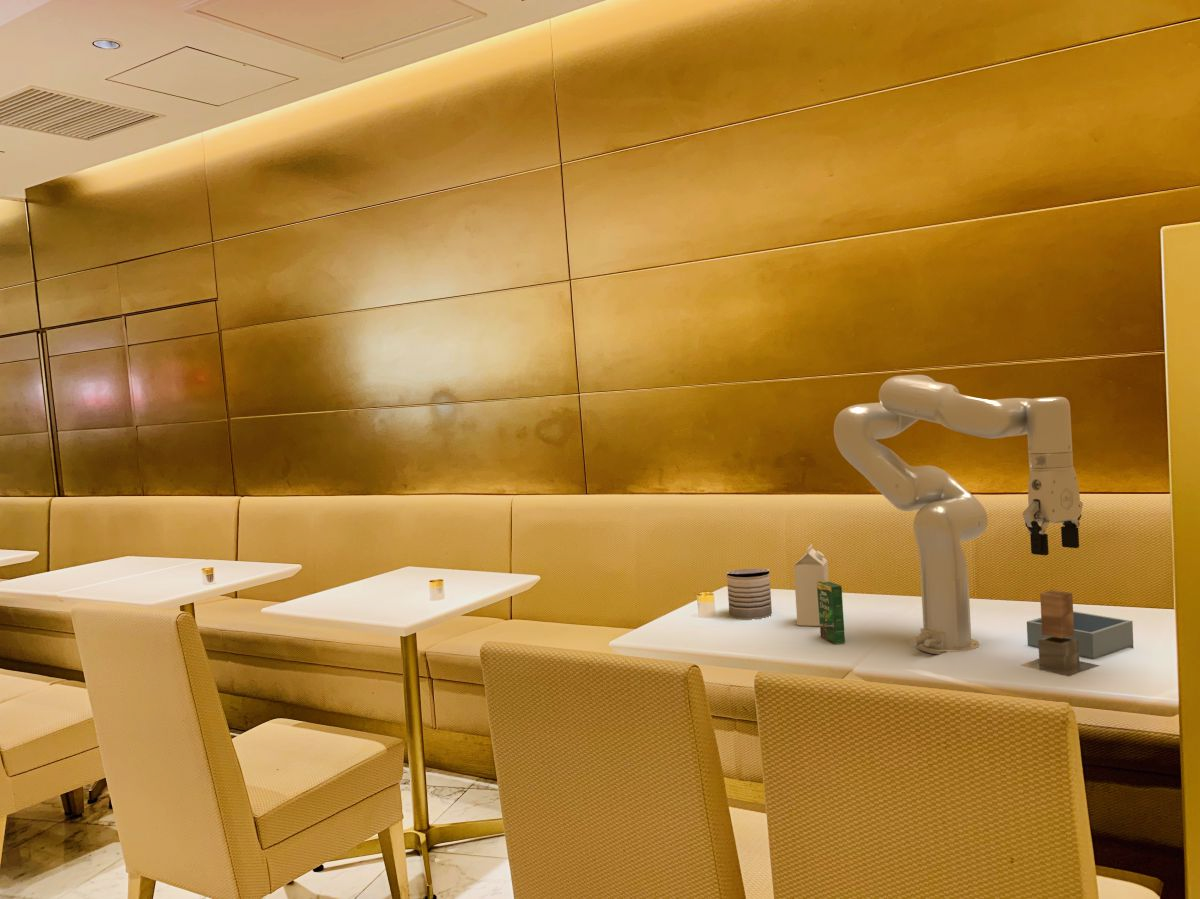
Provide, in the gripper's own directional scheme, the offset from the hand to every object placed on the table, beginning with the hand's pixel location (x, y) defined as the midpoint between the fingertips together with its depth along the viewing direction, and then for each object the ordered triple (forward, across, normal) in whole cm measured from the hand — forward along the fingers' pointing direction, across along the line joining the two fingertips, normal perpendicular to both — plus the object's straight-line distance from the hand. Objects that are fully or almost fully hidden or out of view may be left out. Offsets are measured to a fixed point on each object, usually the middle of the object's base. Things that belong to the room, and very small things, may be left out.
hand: (1055, 550), depth 173 cm
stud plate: (+23, 0, 0) cm, 23 cm away
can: (+23, -11, +78) cm, 82 cm away
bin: (+23, +15, +5) cm, 28 cm away
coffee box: (+23, -14, +46) cm, 54 cm away
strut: (+22, 0, 0) cm, 22 cm away
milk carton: (+23, -6, +60) cm, 65 cm away
